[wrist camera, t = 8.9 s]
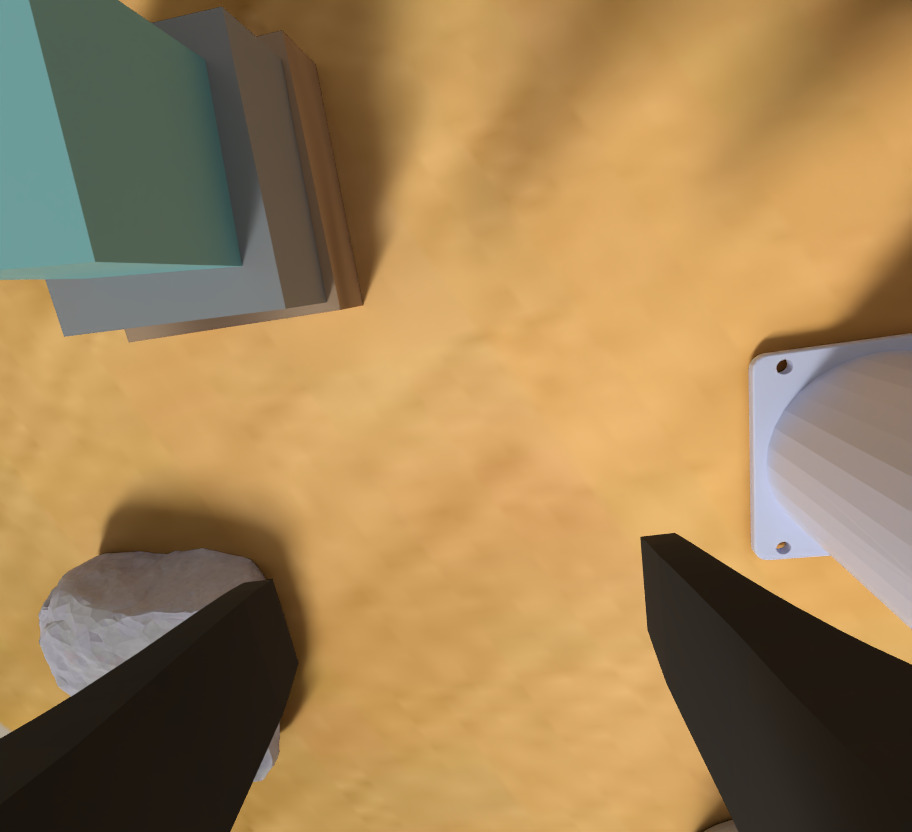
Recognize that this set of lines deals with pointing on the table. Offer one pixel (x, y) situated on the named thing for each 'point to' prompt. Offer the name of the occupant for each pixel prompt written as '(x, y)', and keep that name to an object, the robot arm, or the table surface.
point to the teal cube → (106, 147)
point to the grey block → (251, 194)
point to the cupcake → (723, 827)
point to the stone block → (133, 611)
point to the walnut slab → (320, 197)
